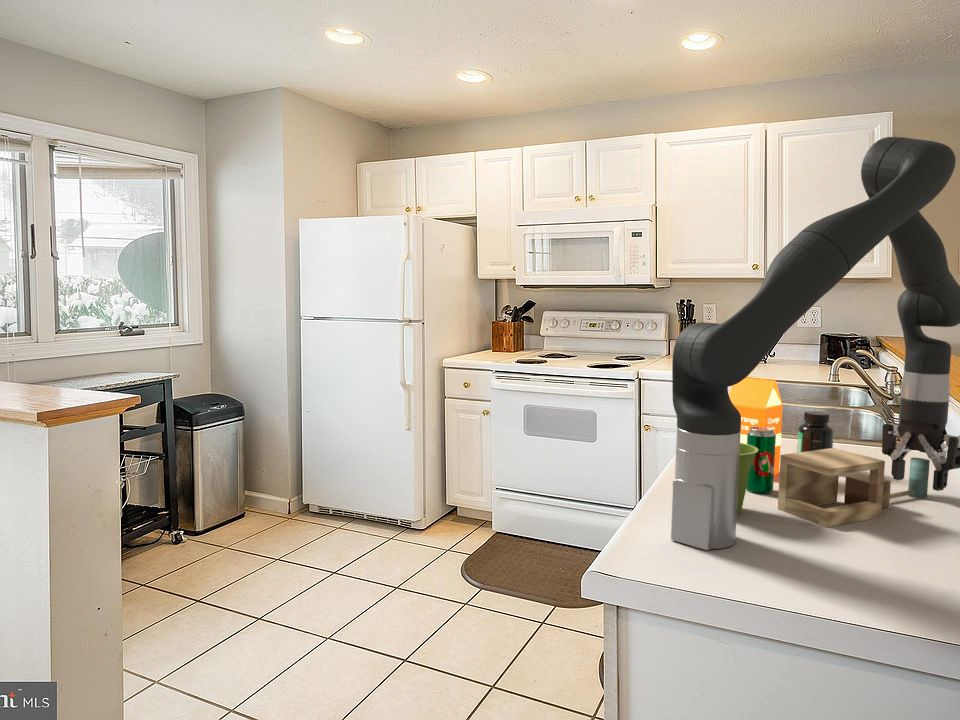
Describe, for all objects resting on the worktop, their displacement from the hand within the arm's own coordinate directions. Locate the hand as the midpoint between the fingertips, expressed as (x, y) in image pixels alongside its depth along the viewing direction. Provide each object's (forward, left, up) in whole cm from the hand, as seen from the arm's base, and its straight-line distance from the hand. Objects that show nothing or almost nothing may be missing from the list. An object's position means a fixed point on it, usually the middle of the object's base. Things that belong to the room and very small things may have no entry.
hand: (917, 484), depth 128 cm
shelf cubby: (-22, +8, -2) cm, 24 cm away
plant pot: (-34, +22, -2) cm, 41 cm away
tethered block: (-7, +2, -2) cm, 8 cm away
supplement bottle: (+7, +21, -2) cm, 22 cm away
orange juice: (-6, +29, -2) cm, 30 cm away
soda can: (-18, +22, -2) cm, 29 cm away
